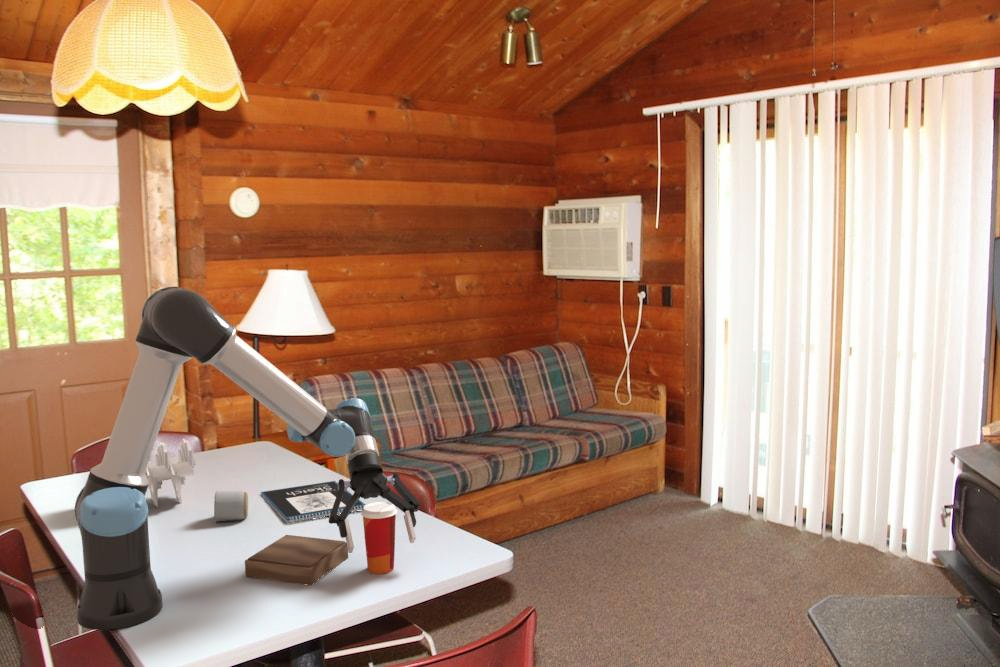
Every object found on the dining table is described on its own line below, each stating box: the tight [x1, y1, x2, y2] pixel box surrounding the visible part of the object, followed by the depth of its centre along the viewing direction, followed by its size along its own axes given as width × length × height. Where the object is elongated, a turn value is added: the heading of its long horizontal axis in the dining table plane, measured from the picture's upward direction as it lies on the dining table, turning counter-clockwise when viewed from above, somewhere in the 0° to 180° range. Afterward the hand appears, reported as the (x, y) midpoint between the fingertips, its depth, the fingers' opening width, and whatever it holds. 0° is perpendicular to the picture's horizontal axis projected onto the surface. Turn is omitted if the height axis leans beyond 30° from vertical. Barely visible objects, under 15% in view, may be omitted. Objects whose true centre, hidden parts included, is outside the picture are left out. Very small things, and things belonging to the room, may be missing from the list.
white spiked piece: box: [145, 438, 196, 508], centre depth 229 cm, size 18×18×25 cm
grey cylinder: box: [213, 490, 249, 523], centre depth 220 cm, size 11×8×8 cm
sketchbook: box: [260, 480, 366, 525], centre depth 232 cm, size 22×30×2 cm
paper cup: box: [360, 501, 398, 575], centre depth 184 cm, size 8×8×14 cm
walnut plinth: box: [244, 534, 349, 586], centre depth 186 cm, size 16×16×4 cm
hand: (382, 545), depth 182 cm, fingers open, 13 cm apart
